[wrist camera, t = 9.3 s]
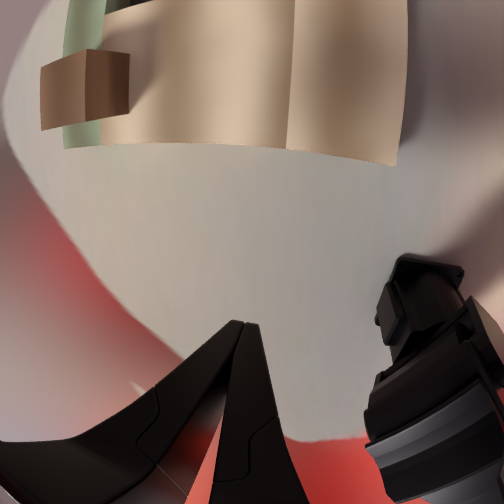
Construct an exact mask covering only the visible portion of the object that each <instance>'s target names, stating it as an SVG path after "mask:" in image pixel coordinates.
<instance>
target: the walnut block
mask: <svg viewBox="0 0 504 504" xmlns="http://www.w3.org/2000/svg"><path fill="white" fill-rule="evenodd" d="M129 65H130V54H128V53H121V52H114V51H105V50H95V49H85V50H82V51H79V52H76V53H74V54H71V55H69V56H66V57H64V58H61V59H59V60H57V61H54V62H52V63H50V64H48V65H45V66H43V67H41V76H40V113H41V131H43V130H47V129H52V128H56V127H61V126H66V125H71V124H77V123H83V122H88V121H93V120H97V119H103V118H108V117H113V116H119V115H125V114H129Z"/></svg>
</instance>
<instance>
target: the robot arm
mask: <svg viewBox="0 0 504 504" xmlns="http://www.w3.org/2000/svg"><path fill="white" fill-rule="evenodd" d="M402 263H404V265H403V266H400V264H402ZM459 272H460V273H459ZM458 273H459V274H458ZM457 274H458V275H457ZM464 274H465V273H464V270H463V269H462V267H458V266H452V265H446V264H441V263H435V262H429V261H422V260H416V259H410V258H404V257H401V258H399V259H397V261H396V262H395V265H394V268H393V271H392V274H391V277H390V280H389V282H387V283H386V284H385V286H384V289H383V292H382V294H381V297H380V300H379V302H378V305H377V308H376V309H377V314H376V316H375V319H374V320H375V324H376V325H377V326H380V328H381V333H382V338H383V343H384V344H385V345H386V346H390V351H391V356H392V362H393V365H392V366H391V367H389V368H388V369H387V370H385V371H382V372H380V373H379V374H377V375H376V379H375V383H374V387H373V390H372V392H371V393H370V396H369V403H368V409H366V410H365V411H364V423H365V428H366V432H367V435H368V438H369V440H370V442H369V443H367V444H365V449H366V450H367V451H368V452H369V454H371V456H372V457H373V458H374V460H375V462H376V464H377V466H378V468H379V470H380V473H381V476H382V479H383V483H384V487H385V491H386V494H387V495H388V496H389V497H390V498H391V499H392V500H393V502H395V503H396V504H399V503H403V502H406V501H409V500H413V499H416V498H419V497H420V498H422V499H423V500H425V501H427V502H429V503H431V504H504V334H503V332H502V330H501V329H500V327H499V325H498V324H497V322H496V321H495V320H494V319H493V318H492V317H491V316H490V315H489V313H488V312H487V311H486V310H485V309H484V308H483V307H482V306H481V305H480V304H479V303H478V302H477V301H476V300H475V299H474V298H473V296H470V297H469V298H468V299H467V300H466V301H465V300H464V298H463V297H462V295H461V293H460V291H459V290H458V288H459V285H460V283H461V281H462V279H463V277H464ZM223 412H224V415H223ZM222 415H223V421H222V427H221V433H220V439H219V445H218V451H217V458H216V464H215V471H214V477H213V484H212V489H211V494H210V499H209V504H310V503H309V501H308V499H307V497H306V494H305V492H304V489H303V487H302V485H301V482H300V480H299V478H298V475H297V473H296V470H295V468H294V466H293V463H292V461H291V458H290V455H289V452H288V449H287V447H286V443H285V440H284V436H283V432H282V428H281V424H280V419H279V417H278V411H277V406H276V402H275V397H274V393H273V388H272V384H271V379H270V374H269V370H268V365H267V360H266V356H265V351H264V347H263V342H262V337H261V333H260V328H259V325H258V324H255V323H249V322H246V323H244V322H243V321H238V320H230V321H229V322H228V323H227V324H226V325H225V326H224V327H222V328H221V329H220V330H219V331H218V332H217V333H216V334H215V335H213V336H212V337H211V338H210V339H209V340H208V341H206V342H205V343H204V344H203V345H202V346H201V347H200V348H198V349H197V350H196V351H195V352H194V353H193V354H191V355H190V356H189V357H188V358H187V359H186V360H184V361H183V362H182V363H181V364H180V365H179V366H177V367H176V368H175V369H174V370H173V371H171V372H170V373H169V374H168V375H167V376H166V377H164V378H163V379H162V380H161V381H159V382H158V383H157V384H156V385H155V387H152V388H151V389H150V390H148V391H147V392H146V393H145V394H143V395H142V396H141V397H140V398H138V399H137V400H136V401H134V402H133V403H132V404H130V405H129V406H127V407H126V408H124V409H123V410H121V411H120V412H118V413H116V414H115V415H113V416H111V417H110V418H108V419H106V420H105V421H103V422H101V423H100V424H98V425H96V426H94V427H93V428H91V429H89V430H87V431H86V432H84V433H82V434H80V435H77V436H75V437H72V438H69V439H64V440H53V441H38V442H3V441H1V440H0V504H184V503H185V501H186V499H187V496H188V495H189V492H190V490H191V488H192V486H193V483H194V481H195V479H196V476H197V474H198V472H199V470H200V467H201V465H202V462H203V460H204V458H205V455H206V453H207V451H208V448H209V446H210V444H211V441H212V439H213V437H214V434H215V432H216V429H217V427H218V424H219V422H220V420H221V417H222Z"/></svg>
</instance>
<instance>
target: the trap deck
mask: <svg viewBox="0 0 504 504" xmlns="http://www.w3.org/2000/svg"><path fill="white" fill-rule="evenodd" d="M85 49H95V50H105V51H114V52H121V53H128V54H130V65H129V114H125V115H119V116H113V117H108V118H103V119H97V120H93V121H88V122H83V123H77V124H71V125H66V126H62V129H63V143H64V149H67V148H77V147H87V146H99V145H113V144H132V143H213V144H233V145H248V146H260V147H271V148H281V149H290V150H299V151H307V152H314V153H321V154H328V155H334V156H341V157H346V158H352V159H358V160H363V161H368V162H373V163H378V164H383V165H388V166H392V167H395V165H396V159H397V154H398V147H399V141H400V134H401V127H402V119H403V110H404V101H405V90H406V76H407V56H408V13H407V0H70V2H69V8H68V14H67V20H66V28H65V36H64V46H63V58H64V57H66V56H69V55H71V54H74V53H76V52H79V51H82V50H85Z"/></svg>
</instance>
